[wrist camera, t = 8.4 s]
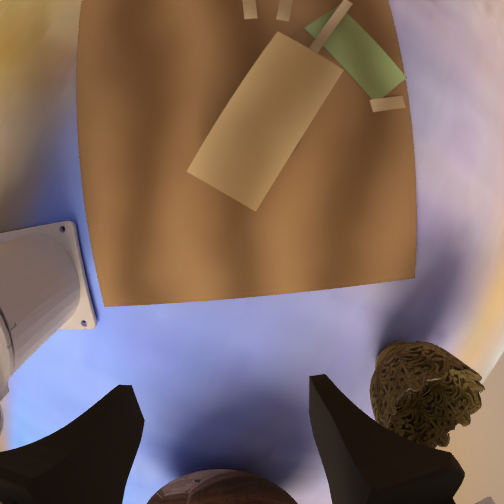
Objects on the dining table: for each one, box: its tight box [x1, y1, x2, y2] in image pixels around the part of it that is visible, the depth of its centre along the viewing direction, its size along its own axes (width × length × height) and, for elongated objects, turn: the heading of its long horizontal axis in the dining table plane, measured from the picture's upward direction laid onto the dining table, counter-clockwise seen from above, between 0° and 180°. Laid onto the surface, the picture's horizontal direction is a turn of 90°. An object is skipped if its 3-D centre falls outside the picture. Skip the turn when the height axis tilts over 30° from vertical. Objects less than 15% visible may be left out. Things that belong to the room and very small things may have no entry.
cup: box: [370, 341, 485, 449], centre depth 19 cm, size 8×7×8 cm
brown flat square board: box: [77, 0, 417, 307], centre depth 18 cm, size 21×22×1 cm
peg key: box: [187, 0, 353, 212], centre depth 15 cm, size 4×14×4 cm, turn 149°
